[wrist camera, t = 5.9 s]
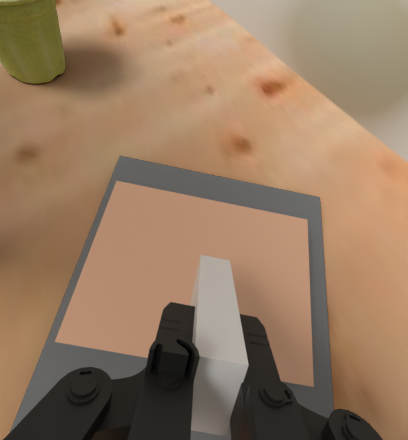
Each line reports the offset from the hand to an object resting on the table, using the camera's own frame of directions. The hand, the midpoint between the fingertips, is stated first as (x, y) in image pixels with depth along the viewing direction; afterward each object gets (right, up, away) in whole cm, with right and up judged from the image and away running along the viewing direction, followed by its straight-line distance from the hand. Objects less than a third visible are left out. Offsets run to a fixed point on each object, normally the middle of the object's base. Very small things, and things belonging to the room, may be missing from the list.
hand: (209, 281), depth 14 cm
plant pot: (-19, +20, +17) cm, 33 cm away
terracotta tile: (-1, -6, +4) cm, 7 cm away
